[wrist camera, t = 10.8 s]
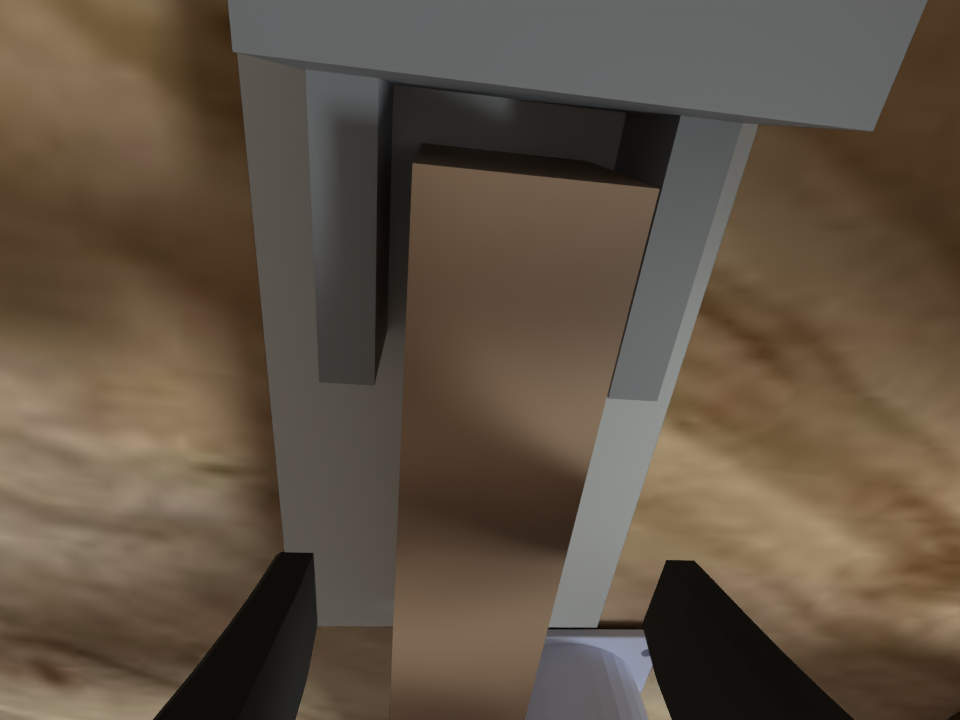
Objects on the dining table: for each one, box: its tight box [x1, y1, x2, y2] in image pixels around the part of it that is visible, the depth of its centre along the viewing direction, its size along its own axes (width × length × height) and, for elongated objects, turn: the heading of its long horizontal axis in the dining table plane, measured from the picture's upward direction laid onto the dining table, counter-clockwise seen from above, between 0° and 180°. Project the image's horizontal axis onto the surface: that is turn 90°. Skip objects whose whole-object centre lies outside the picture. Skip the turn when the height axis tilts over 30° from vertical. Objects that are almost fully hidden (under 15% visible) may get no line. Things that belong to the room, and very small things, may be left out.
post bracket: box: [228, 0, 928, 627], centre depth 13 cm, size 21×12×6 cm, turn 174°
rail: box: [389, 143, 659, 720], centre depth 14 cm, size 16×4×4 cm, turn 174°
